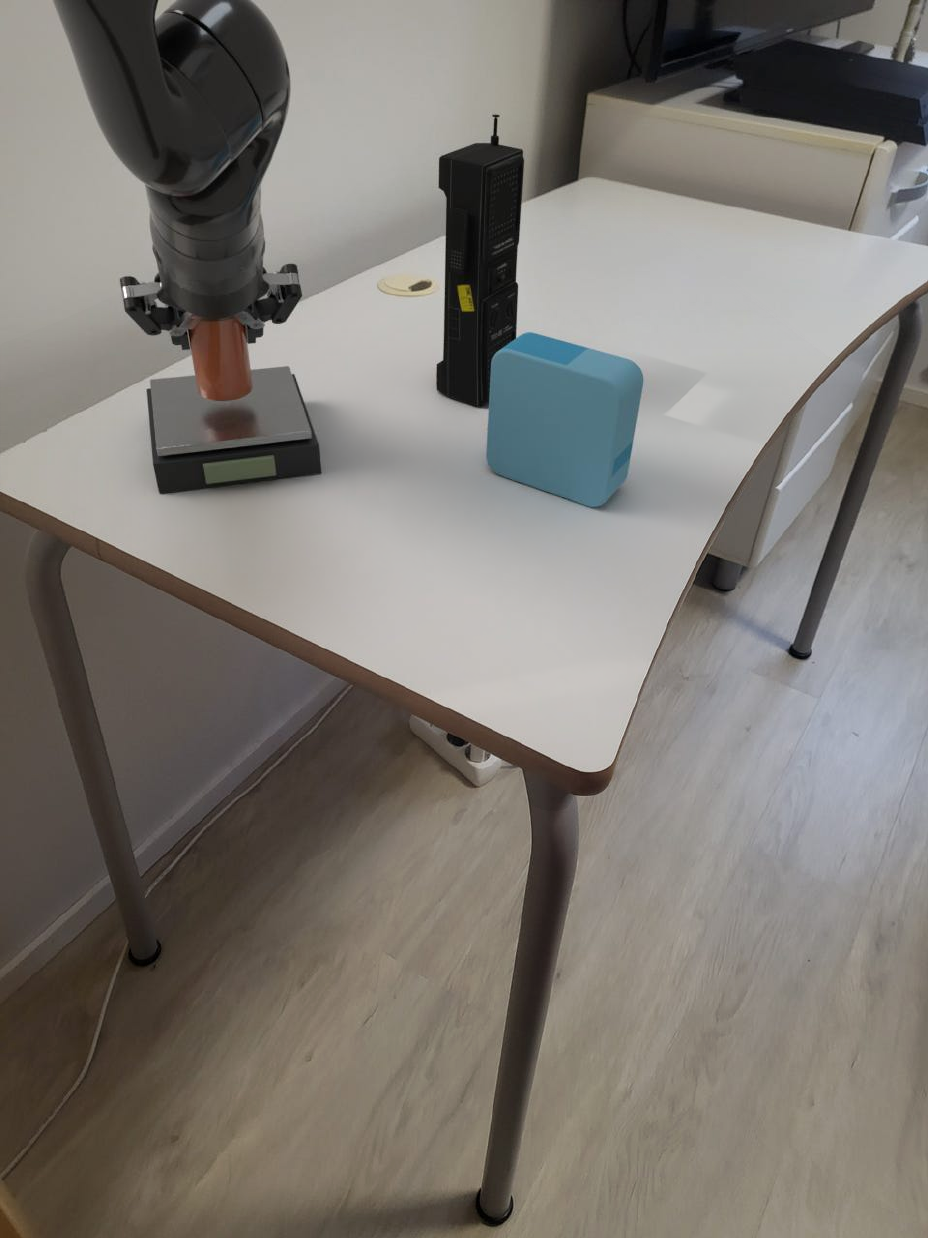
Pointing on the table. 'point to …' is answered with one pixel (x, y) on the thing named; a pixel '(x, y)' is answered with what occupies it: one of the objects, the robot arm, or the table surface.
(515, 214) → the portable radio
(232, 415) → the scale pan
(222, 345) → the spice tin
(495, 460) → the data package
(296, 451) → the scale
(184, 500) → the table surface
